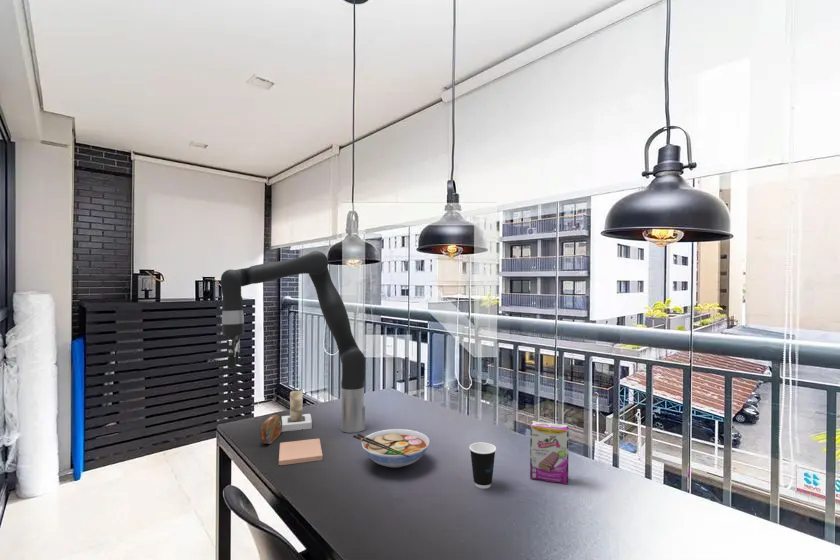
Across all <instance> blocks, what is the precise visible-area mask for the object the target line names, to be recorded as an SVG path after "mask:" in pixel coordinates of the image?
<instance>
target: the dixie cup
mask: <svg viewBox="0 0 840 560" xmlns="http://www.w3.org/2000/svg"><path fill="white" fill-rule="evenodd" d="M469 450H470V459H471V460H470V461H471V469H472V477H473V482H474V486H475V487H476V488H479V489H482V490H483V489H490V487H491V486H492V483H493V474H494V466H495V458H496V457H495V456H496V455H495V454H496V451H497V447H496V446H495V445H494V444H491V443H489V442H481V441H480V442H474V443H472V444H470V445H469Z"/></svg>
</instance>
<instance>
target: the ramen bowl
mask: <svg viewBox="0 0 840 560" xmlns="http://www.w3.org/2000/svg"><path fill="white" fill-rule="evenodd" d="M352 438H353V439H357V440H360V443H361V447H362V449H363V451H364V452H365V454H366V456H367V457H368V458H369V459H371V460H372V461H373V462H375V464H377V465H381V466H384V467H388V468H391V469H392V468H394V469H397V468H402V467H405V466H408V465H409V466H410V465H413V464H414V463H416V462H417V461H418V460H419V459H421V458H422V457H423V455H425V453H426V451H427V450H428V447H429V444H430V442H431V440H430V438H429V437H428V436H427V435H426V434H424V433H422V432H421V431H416V430H411V429H405V428H404V429H403V428H392V429H391V428H390V429H383V430H378V431H375V432H372V433H370V434H368V435H362V434H360V433H357V434H356V435H355V434H353V436H352Z"/></svg>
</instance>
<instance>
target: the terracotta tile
mask: <svg viewBox="0 0 840 560" xmlns="http://www.w3.org/2000/svg"><path fill="white" fill-rule="evenodd" d="M278 452H279V453H278V455H279V456H278V466H279V465H280V466H286V465H293V464H294V465H295V464H301V463H309V462H315V461H323V458H324V457H323V451H322V444H321V440H320V438H313V439H312V438H311V439H303V440H294V441H284V442H283V441H282V442H280V443H279V451H278Z"/></svg>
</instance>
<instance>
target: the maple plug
mask: <svg viewBox="0 0 840 560" xmlns="http://www.w3.org/2000/svg"><path fill="white" fill-rule="evenodd" d="M303 395H304V394H303V390H292V391H290V393H289V406H290V407H289V416H290V423H292V422H302V414H303V406H304V405H303V400H304V399H303Z"/></svg>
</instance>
